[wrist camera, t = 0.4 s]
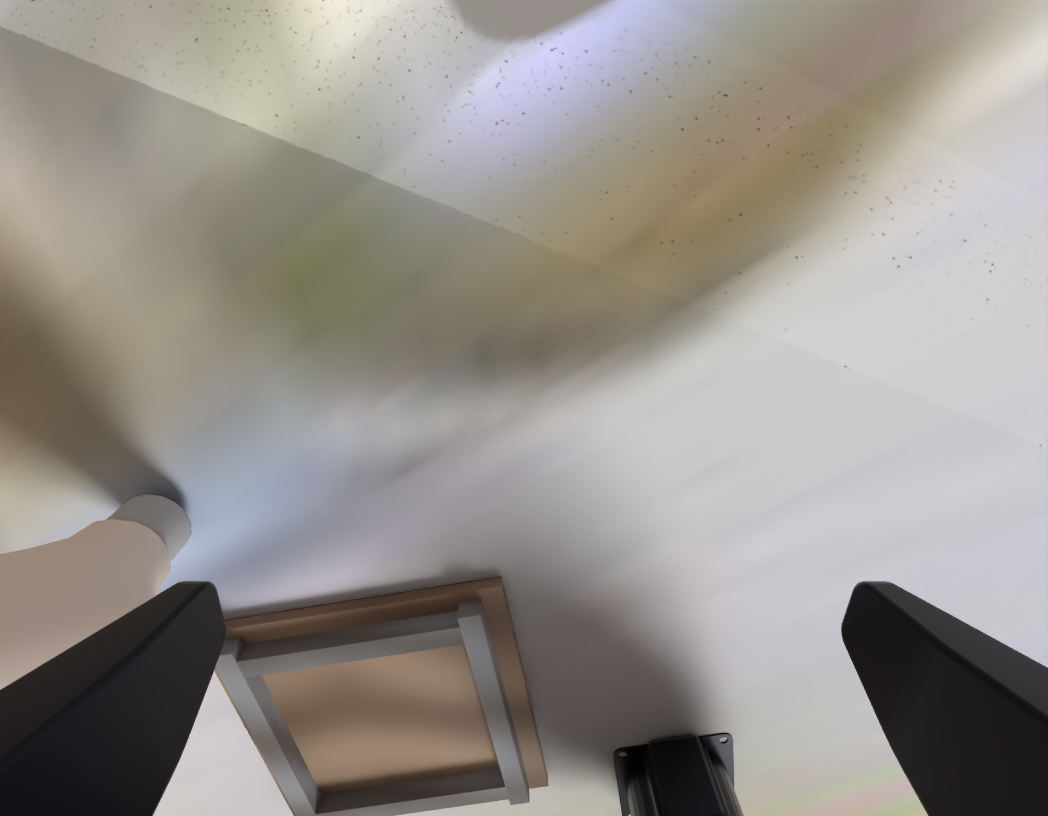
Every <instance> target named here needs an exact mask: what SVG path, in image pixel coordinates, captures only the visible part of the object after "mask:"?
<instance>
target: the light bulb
mask: <svg viewBox="0 0 1048 816" xmlns="http://www.w3.org/2000/svg"><path fill="white" fill-rule="evenodd" d="M191 533H192V532H191V521H190V519H189V517H188V515H187V514H186V512H185V511H184V510H183V509H182V508H181V507H180V506H179V505H178V504H177V503H175V502H174V501H171V500H169V499H167V498H165V497H163V496H157V495H150V494H146V495H141V496H136V497H133V498H132V499H130V500H129V501H128V502H126V503H125V504H124V505H122V506H121V507H120V508H119V509H118V510H117V511H116V512H114V513H113V514H112V515H111V516H110V517H109V518H108V519H107V520H102V521H97V522H94V523H92V524H90V525H89V526H87V527H86V528H84V529H82V530H81V531H79V532H78V533H76V534H74V535H73V536H71V537H70V538H67V539H64V540H60V541H56V542H53V543H49V544H45V545H41V546H38V547H34V548H30V549H25V550H20V551H15V552H10V553H5V554H0V690H1V689H2V688H4V687H6V686H7V685H9V684H11V683H12V682H14V681H15V680H17V679H19V678H20V677H22V676H24V675H25V674H27V673H29V672H30V671H32V670H34V669H35V668H37V667H39V666H40V665H42V664H44V663H45V662H47V661H49V660H50V659H52V658H54V657H55V656H57V655H59V654H60V653H62V652H64V651H65V650H67V649H69V648H70V647H72V646H74V645H75V644H77V643H78V642H80V641H82V640H83V639H85V638H87V637H88V636H90V635H92V634H93V633H95V632H97V631H98V630H100V629H102V628H103V627H105V626H107V625H108V624H110V623H112V622H113V621H115V620H117V619H118V618H120V617H122V616H123V615H125V614H127V613H128V612H130V611H132V610H133V609H135V608H136V607H138V606H140V605H141V604H143V603H145V602H146V601H148V600H150V599H151V598H153V597H155V596H156V595H157V592H158V590H159V589H160V587H161V585H162V584H163V582H164V580H165V578H166V576H167V574H168V572H169V571H170V569H171V567H170V562H171V561H172V559H173V558H174V557H175V556H176V555H177V554H178V552H179V551H180V550H181V549H182V548H183V546H184V545H185V544H186V543H187V541H188V539H189V537H190V535H191Z"/></svg>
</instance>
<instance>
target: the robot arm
mask: <svg viewBox="0 0 1048 816" xmlns="http://www.w3.org/2000/svg"><path fill="white" fill-rule="evenodd" d="M841 632H842V638H843V642H844V644H845V647H846V649H847V651H848V653H849V656H850V658H851V660H852V662H853V665H854V667H855V669H856V671H857V673H858V676H859V678H860V680H861V682H862V685H863V687H864V689H865V691H866V694H867V696H868V698H869V700H870V702H871V705H872V707H873V709H874V711H875V714H876V716H877V718H878V720H879V723H880V725H881V727H882V729H883V732H884V734H885V736H886V738H887V740H888V742H889V744H890V746H891V748H892V750H893V752H894V754H895V756H896V758H897V760H898V762H899V764H900V765H901V767H902V769H903V771H904V773H905V775H906V776H907V778H908V780H909V782H910V784H911V785H912V787H913V789H914V791H915V793H916V794H917V796H918V798H919V800H920V802H921V803H922V805H923V807H924V809H925V811H926V812H927V814H928V816H1048V668H1047V667H1045V666H1044V665H1042V664H1040V663H1038V662H1036V661H1034V660H1033V659H1031V658H1029V657H1027V656H1025V655H1023V654H1022V653H1020V652H1018V651H1016V650H1014V649H1012V648H1010V647H1009V646H1007V645H1005V644H1003V643H1001V642H999V641H998V640H996V639H994V638H992V637H990V636H988V635H987V634H985V633H983V632H981V631H979V630H977V629H976V628H974V627H972V626H970V625H968V624H966V623H965V622H963V621H961V620H959V619H957V618H955V617H954V616H952V615H950V614H948V613H946V612H944V611H943V610H941V609H939V608H937V607H935V606H933V605H931V604H930V603H928V602H926V601H924V600H922V599H920V598H919V597H917V596H915V595H913V594H911V593H909V592H908V591H906V590H904V589H902V588H900V587H898V586H897V585H895V584H893V583H890V582H885V581H863V582H860V583H858V584H857V585H856V586H855V587H854V589H853V592H852V595H851V598H850V601H849V604H848V607H847V610H846V613H845V616H844V619H843V622H842V628H841ZM225 636H226V626H225V621H224V617H223V613H222V609H221V605H220V601H219V596H218V592H217V589H216V587H215V585H214V584H213V583H211V582H209V581H183V582H179V583H177V584H175V585H173V586H171V587H170V588H168V589H166V590H165V591H163V592H161V593H160V594H158V595H156V596H155V597H153V598H151V599H150V600H148V601H146V602H145V603H143V604H141V605H140V606H138V607H136V608H135V609H133V610H132V611H130V612H128V613H127V614H125V615H123V616H122V617H120V618H118V619H117V620H115V621H113V622H112V623H110V624H108V625H107V626H105V627H103V628H102V629H100V630H98V631H97V632H95V633H93V634H92V635H90V636H88V637H87V638H85V639H83V640H82V641H80V642H78V643H77V644H75V645H74V646H72V647H70V648H69V649H67V650H65V651H64V652H62V653H60V654H59V655H57V656H55V657H54V658H52V659H50V660H49V661H47V662H45V663H44V664H42V665H40V666H39V667H37V668H35V669H34V670H32V671H30V672H29V673H27V674H25V675H24V676H22V677H20V678H19V679H17V680H15V681H14V682H12V683H11V684H9V685H7V686H6V687H4V688H2V689H1V690H0V816H153V814H154V812H155V810H156V808H157V806H158V804H159V802H160V800H161V798H162V796H163V794H164V792H165V790H166V788H167V785H168V783H169V781H170V779H171V777H172V775H173V773H174V771H175V769H176V766H177V764H178V762H179V760H180V758H181V755H182V753H183V750H184V748H185V745H186V743H187V740H188V738H189V735H190V733H191V730H192V727H193V725H194V722H195V719H196V717H197V714H198V711H199V709H200V706H201V704H202V701H203V698H204V696H205V693H206V690H207V688H208V685H209V682H210V680H211V677H212V675H213V672H214V669H215V667H216V664H217V661H218V659H219V656H220V653H221V651H222V648H223V645H224V642H225ZM723 737H726V738H728V740H727V741H726V742H719V739H721V738H723ZM621 752H626V753H627V755H626V756H624V757H620V756H618V754H619V753H621ZM613 756H614V763H615V769H616V776H617V782H618V788H619V795H620V801H621V808H622V814H623V816H628V815H629V814H631V816H744V815H743V813H742V810H741V807H740V804H739V802H738V799H737V796H736V794H735V791H734V763H733V738H732V735H730V734H728V733H720V734H713V735H706V736H699V737H697V736H693V735H692V736H685V737H678V738H672V739H665V740H658V741H652V742H649V744H644V745H637V746H631V747H624V748H619V749H617V750H615V752H614V754H613Z"/></svg>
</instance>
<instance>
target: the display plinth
mask: <svg viewBox="0 0 1048 816" xmlns="http://www.w3.org/2000/svg"><path fill="white" fill-rule="evenodd" d="M225 626H226V636H225V642H224V645H223V648H222V651H221V653H220V656H219V659H218V661H217V664H216V667H215V669H214V671H215V673H216V675H217V676H218V678H219V680H220V682H221V684H222V685H223V687H224V689H225V691H226V693H227V695H228V696H229V698H230V700H231V702H232V704H233V705H234V707H235V709H236V711H237V713H238V715H239V716H240V718H241V720H242V722H243V724H244V726H245V727H246V729H247V731H248V733H249V735H250V736H251V738H252V740H253V742H254V744H255V746H256V747H257V749H258V751H259V753H260V755H261V757H262V758H263V760H264V762H265V764H266V766H267V767H268V769H269V771H270V773H271V775H272V777H273V778H274V780H275V782H276V784H277V786H278V788H279V789H280V791H281V793H282V795H283V797H284V798H285V800H286V802H287V804H288V806H289V808H290V809H291V811H292V813H293V815H294V816H395V815H401V814H408V813H415V812H422V811H429V810H436V809H443V808H450V807H457V806H464V805H471V804H478V803H485V802H492V801H499V800H506V799H509V801H510V805H514V804H521V803H528V802H529V789H530V788H537V787H544V786H548V775H547V770H546V766H545V762H544V758H543V753H542V749H541V745H540V740H539V736H538V732H537V728H536V723H535V719H534V715H533V711H532V706H531V702H530V698H529V693H528V689H527V685H526V681H525V676H524V672H523V668H522V664H521V659H520V655H519V651H518V646H517V642H516V638H515V634H514V629H513V625H512V621H511V617H510V612H509V608H508V604H507V600H506V595H505V591H504V587H503V582H502V578H501V577H497V578H491V579H485V580H478V581H472V582H466V583H459V584H453V585H447V586H440V587H434V588H428V589H421V590H415V591H409V592H402V593H396V594H390V595H383V596H377V597H371V598H364V599H358V600H352V601H345V602H339V603H333V604H326V605H320V606H314V607H307V608H301V609H295V610H288V611H282V612H276V613H269V614H263V615H257V616H250V617H244V618H238V619H231V620H225Z"/></svg>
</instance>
